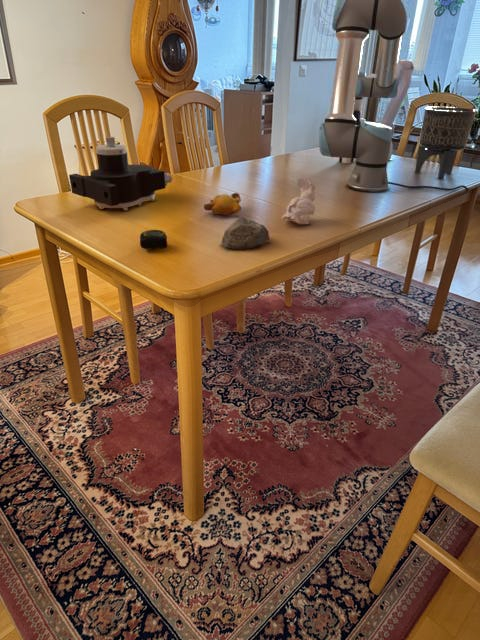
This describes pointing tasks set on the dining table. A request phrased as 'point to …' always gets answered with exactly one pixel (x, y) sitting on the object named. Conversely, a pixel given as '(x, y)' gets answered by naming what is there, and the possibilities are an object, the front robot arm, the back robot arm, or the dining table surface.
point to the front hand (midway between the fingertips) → (345, 161)
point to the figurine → (301, 204)
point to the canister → (346, 160)
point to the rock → (245, 234)
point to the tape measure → (153, 239)
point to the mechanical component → (118, 179)
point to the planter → (444, 136)
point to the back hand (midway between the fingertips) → (352, 136)
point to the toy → (224, 204)
